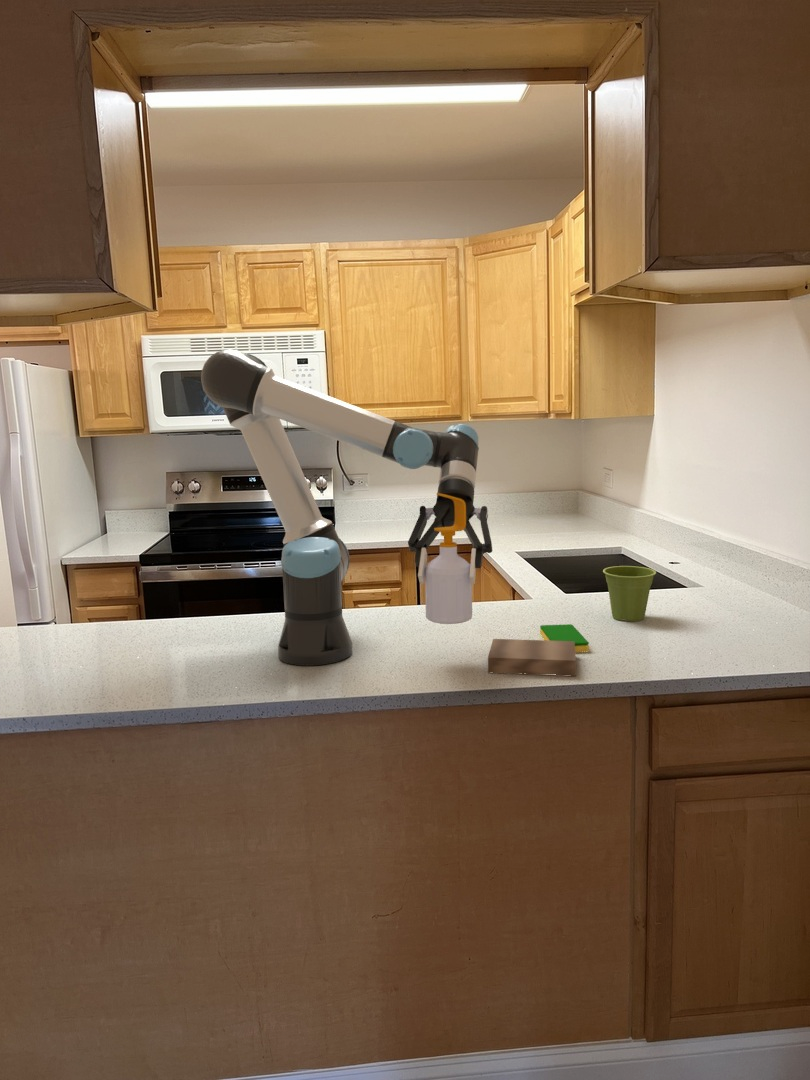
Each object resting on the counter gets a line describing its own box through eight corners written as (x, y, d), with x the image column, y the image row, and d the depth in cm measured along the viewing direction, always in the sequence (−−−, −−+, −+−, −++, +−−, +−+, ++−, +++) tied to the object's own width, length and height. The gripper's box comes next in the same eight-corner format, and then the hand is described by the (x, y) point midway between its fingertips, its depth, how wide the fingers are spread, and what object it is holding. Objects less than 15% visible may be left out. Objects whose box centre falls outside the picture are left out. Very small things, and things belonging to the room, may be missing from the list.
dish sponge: (553, 655, 150) (554, 643, 150) (539, 635, 164) (539, 624, 163) (589, 654, 150) (589, 642, 150) (572, 634, 164) (572, 623, 164)
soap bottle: (418, 615, 148) (416, 492, 144) (459, 610, 151) (458, 489, 147) (437, 627, 140) (436, 496, 136) (480, 621, 143) (480, 493, 139)
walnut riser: (488, 672, 139) (487, 657, 139) (493, 653, 151) (493, 638, 151) (575, 676, 136) (575, 660, 136) (574, 655, 148) (574, 641, 147)
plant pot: (591, 617, 175) (592, 570, 174) (622, 609, 183) (623, 563, 181) (634, 628, 166) (635, 578, 164) (665, 618, 173) (666, 570, 171)
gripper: (510, 499, 155) (505, 592, 142) (407, 499, 159) (393, 589, 146) (508, 476, 149) (503, 570, 136) (401, 476, 153) (386, 568, 140)
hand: (446, 580), depth 141 cm, fingers closed on soap bottle, 9 cm apart
